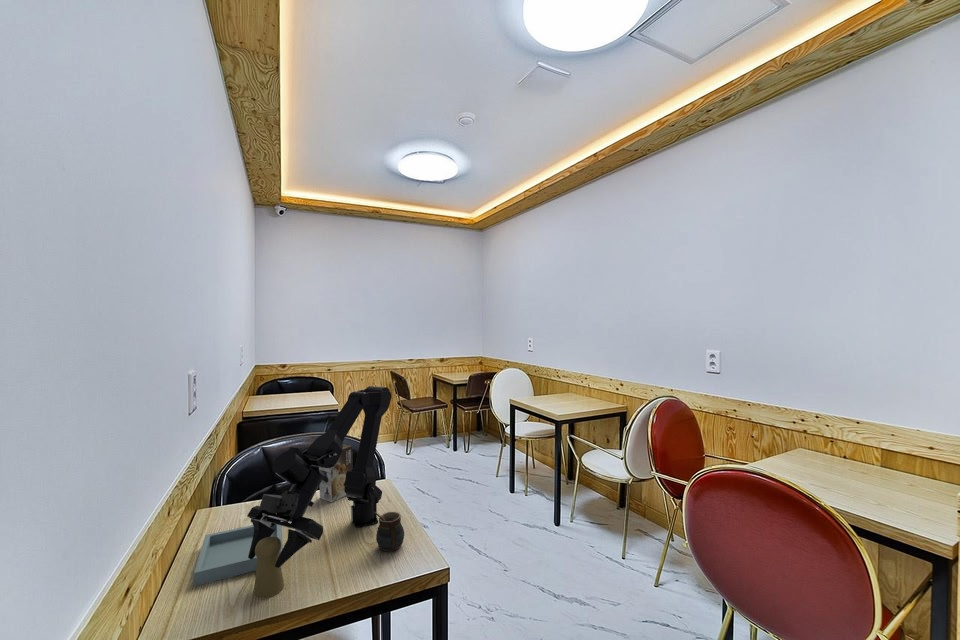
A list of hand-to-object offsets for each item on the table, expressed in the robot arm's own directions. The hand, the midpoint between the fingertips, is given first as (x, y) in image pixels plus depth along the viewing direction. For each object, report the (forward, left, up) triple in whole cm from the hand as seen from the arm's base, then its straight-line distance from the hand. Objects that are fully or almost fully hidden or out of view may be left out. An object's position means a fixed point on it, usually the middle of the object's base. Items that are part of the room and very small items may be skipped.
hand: (262, 562), depth 90 cm
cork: (-1, -1, -7) cm, 7 cm away
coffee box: (-21, -44, -7) cm, 49 cm away
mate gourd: (-29, -5, -7) cm, 30 cm away
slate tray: (+5, -19, -7) cm, 21 cm away
